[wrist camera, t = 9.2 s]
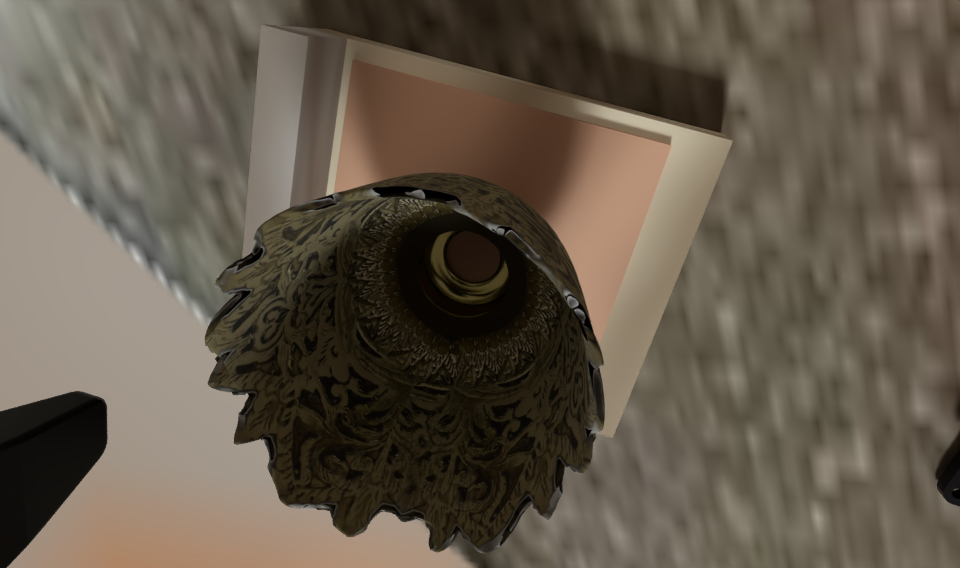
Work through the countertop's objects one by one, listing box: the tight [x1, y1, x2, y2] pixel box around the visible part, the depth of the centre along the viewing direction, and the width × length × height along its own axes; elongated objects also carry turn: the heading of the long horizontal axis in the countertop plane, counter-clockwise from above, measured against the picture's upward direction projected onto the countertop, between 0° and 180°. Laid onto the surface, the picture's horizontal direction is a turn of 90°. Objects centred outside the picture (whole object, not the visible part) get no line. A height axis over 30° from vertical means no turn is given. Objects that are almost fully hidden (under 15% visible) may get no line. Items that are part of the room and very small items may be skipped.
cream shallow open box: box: [242, 24, 733, 438], centre depth 18 cm, size 12×10×4 cm
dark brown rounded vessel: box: [205, 173, 605, 554], centre depth 14 cm, size 8×7×8 cm
